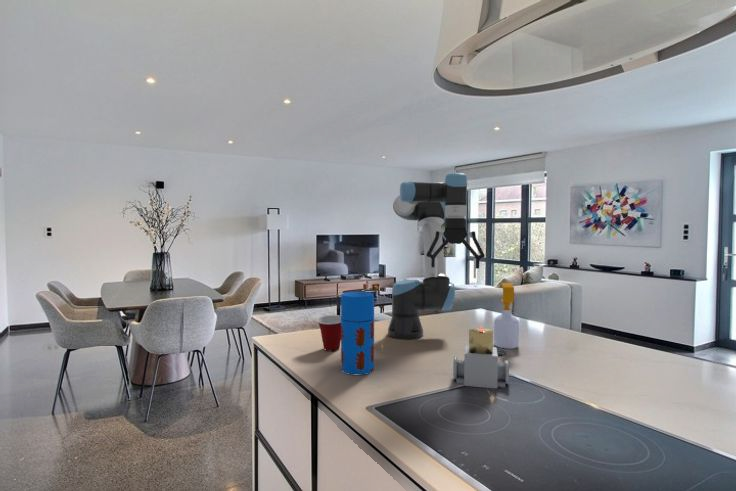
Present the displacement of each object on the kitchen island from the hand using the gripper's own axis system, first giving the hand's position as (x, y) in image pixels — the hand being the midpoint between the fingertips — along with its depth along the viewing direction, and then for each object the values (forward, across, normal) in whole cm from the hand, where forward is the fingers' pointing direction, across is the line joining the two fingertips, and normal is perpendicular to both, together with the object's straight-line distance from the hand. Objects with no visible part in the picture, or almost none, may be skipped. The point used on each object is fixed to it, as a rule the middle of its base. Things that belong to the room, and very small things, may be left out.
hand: (455, 277), depth 154 cm
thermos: (+29, -30, -22) cm, 47 cm away
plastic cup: (+29, -46, -2) cm, 54 cm away
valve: (+22, +9, -23) cm, 33 cm away
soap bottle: (+29, +19, +19) cm, 39 cm away
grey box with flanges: (+29, +9, -23) cm, 38 cm away
